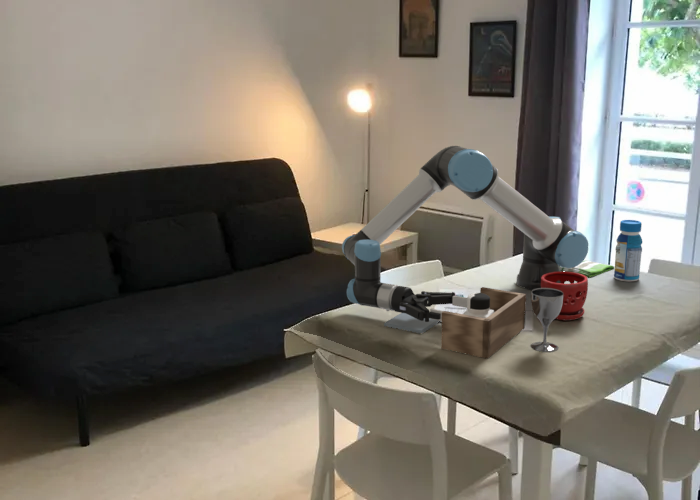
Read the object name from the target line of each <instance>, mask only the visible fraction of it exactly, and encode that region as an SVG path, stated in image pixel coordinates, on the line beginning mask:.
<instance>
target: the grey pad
mask: <svg viewBox="0 0 700 500" xmlns="http://www.w3.org/2000/svg"><path fill="white" fill-rule="evenodd" d="M438 322H439V321H438V320H433V319H430V318H429V322H425V318H424V320H423V321H420V320H418V319H416V318H414V317H412V316H410V315H408V314H406V313H399V314H397V315H396V316H394V317H391V318H390V319H388V320H386V321H385V322H383V324H384V327H386V326H388V328H391V327H392V329H396V328H398V329H397V330H401V329H403V330H402V331H405V330H407V332H410V331H412V332H411V333H415V332H416V334H420V333H422V334H423V332H424V333H425V332H427V331H428V330H430V329H432V328H433V327H435V326H436V325H437V323H438ZM439 323H440V322H439ZM439 323H438V324H439ZM434 325H435V326H434ZM426 330H427V331H426Z"/></svg>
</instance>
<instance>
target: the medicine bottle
mask: <svg viewBox="0 0 700 500" xmlns="http://www.w3.org/2000/svg"><path fill="white" fill-rule="evenodd" d="M466 298H467V308H466V310H465V311H464V312H463V313H462V314H464V315H469V316H475V317H480V318H487V317H489V316H490V315H491V314H493V313H494V310H490V297H489V296H488V295H486V294H484V293H480V292H473V293H470V294H468V295H467V297H466Z"/></svg>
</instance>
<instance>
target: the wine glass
mask: <svg viewBox="0 0 700 500" xmlns="http://www.w3.org/2000/svg"><path fill="white" fill-rule="evenodd" d="M530 296H531V297H530V299H531V300H530V301H531V302H530V303H531V308H532V312H533V314H534V316H535V317H536V318H537V319H538V320H539V321H540V323H541V327H542V329H543V338H542V339H543V340H542V341H537V342H533V343H531V344H530V349H532V350H534V351H537V352H541V351H542V353H552V352H556V351H558V350H559V346H558V345H557V344H555V343H553V342H548V341H547V336H548V331H549V326H550V325H551V323H552V322H553V321H555V320H556V319H555V318H556V317H557V316H558V315H559V314H560V311H561V308H562V304H563V292H562V291H560V290H557V289H553V288H537V289H534V290H531V294H530Z"/></svg>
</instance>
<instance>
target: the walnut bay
mask: <svg viewBox="0 0 700 500" xmlns="http://www.w3.org/2000/svg"><path fill="white" fill-rule="evenodd" d="M479 291H480V292H479V293H484V294H486V295H488V296H489V297H490V310H494V313H493V314H491V315H490V316H489V317H487V318H480V317H475V316H469V315H464V314H463V313H458V312H453V311H446V310H442V311H443V312H442V321H441V339H440V340H441V342H440V343H441V345H440V346H441V347H440V348H442V349H441V350H445V349H447V350H446V351H450V350H452V351H451V352H454V351H457V352H456V353H459V352H461V353H460V354H463V353H466V354H465V355H468V354H469V356H473V357H479V358H483V359H489V358H490V357H492V356H493V355H494V354H495V353H497V352H498V351H499V350H501V348H502V347H503V346H505V345H506V344H507V343H509V342H510V341H511V340H512V339H513V338H514V337H516V336H517V335H518V334H520V331H521V330H522V329H523V330H524V329H526V327H525V325H526V303H527V293H522V292H515V291H509V290H503V289H496V288H491V287H485V286H484V287H483V286H482V287H480V289H479ZM523 330H522V331H523ZM522 331H521V332H522Z"/></svg>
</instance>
